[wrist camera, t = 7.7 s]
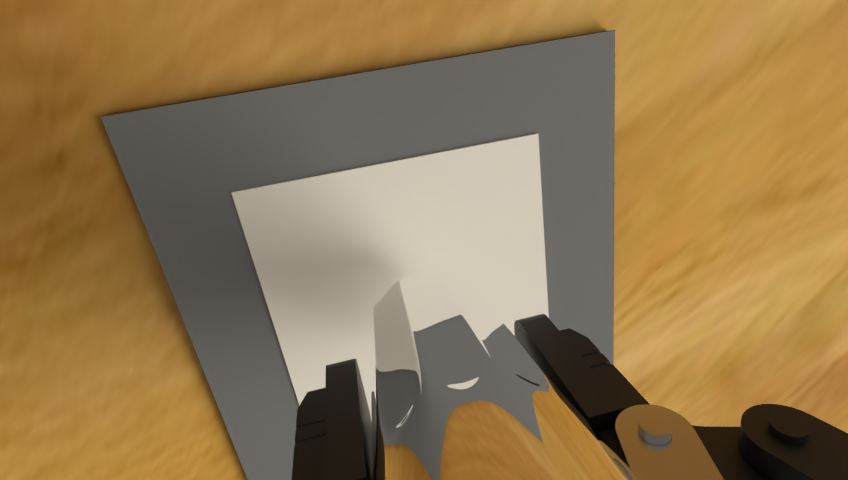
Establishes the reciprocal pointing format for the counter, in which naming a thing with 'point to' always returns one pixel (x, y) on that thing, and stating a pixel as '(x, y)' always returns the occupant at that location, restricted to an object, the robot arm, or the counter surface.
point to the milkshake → (469, 395)
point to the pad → (374, 213)
